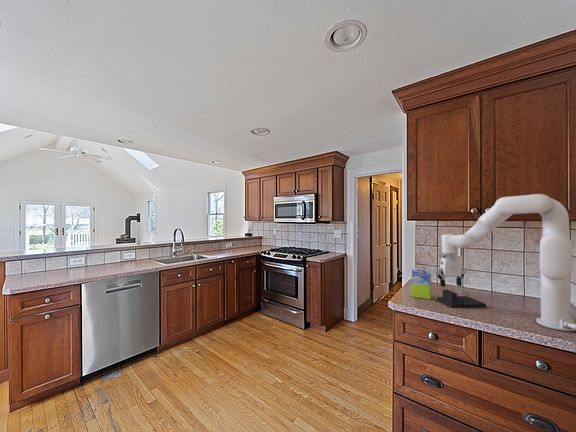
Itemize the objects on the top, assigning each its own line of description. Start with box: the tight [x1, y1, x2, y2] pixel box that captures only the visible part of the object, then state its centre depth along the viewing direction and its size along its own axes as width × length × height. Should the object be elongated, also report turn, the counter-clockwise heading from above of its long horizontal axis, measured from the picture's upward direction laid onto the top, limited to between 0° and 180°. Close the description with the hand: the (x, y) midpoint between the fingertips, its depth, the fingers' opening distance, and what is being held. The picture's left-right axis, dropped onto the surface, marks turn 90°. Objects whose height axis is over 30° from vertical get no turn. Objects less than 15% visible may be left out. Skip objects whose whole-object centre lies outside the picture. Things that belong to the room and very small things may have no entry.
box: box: [411, 268, 432, 301], centre depth 158 cm, size 10×4×17 cm, turn 54°
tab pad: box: [436, 289, 464, 308], centre depth 147 cm, size 12×10×7 cm
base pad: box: [457, 295, 487, 309], centre depth 147 cm, size 14×12×2 cm
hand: (450, 286), depth 146 cm, fingers open, 9 cm apart
